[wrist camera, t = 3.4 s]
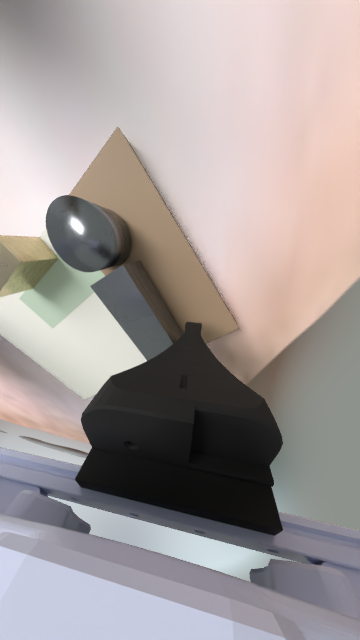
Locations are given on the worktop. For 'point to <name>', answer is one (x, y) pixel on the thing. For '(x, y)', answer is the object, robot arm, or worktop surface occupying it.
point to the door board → (74, 286)
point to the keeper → (23, 263)
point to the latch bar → (123, 283)
